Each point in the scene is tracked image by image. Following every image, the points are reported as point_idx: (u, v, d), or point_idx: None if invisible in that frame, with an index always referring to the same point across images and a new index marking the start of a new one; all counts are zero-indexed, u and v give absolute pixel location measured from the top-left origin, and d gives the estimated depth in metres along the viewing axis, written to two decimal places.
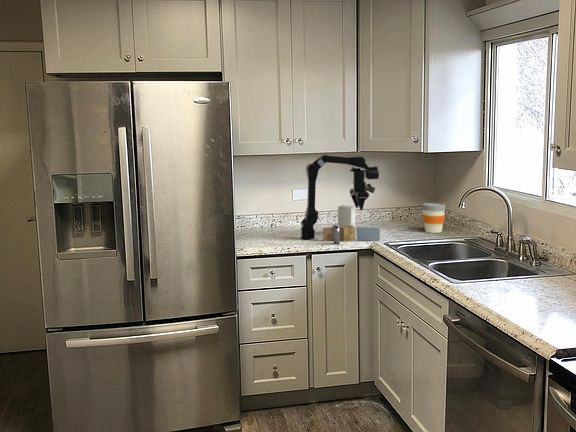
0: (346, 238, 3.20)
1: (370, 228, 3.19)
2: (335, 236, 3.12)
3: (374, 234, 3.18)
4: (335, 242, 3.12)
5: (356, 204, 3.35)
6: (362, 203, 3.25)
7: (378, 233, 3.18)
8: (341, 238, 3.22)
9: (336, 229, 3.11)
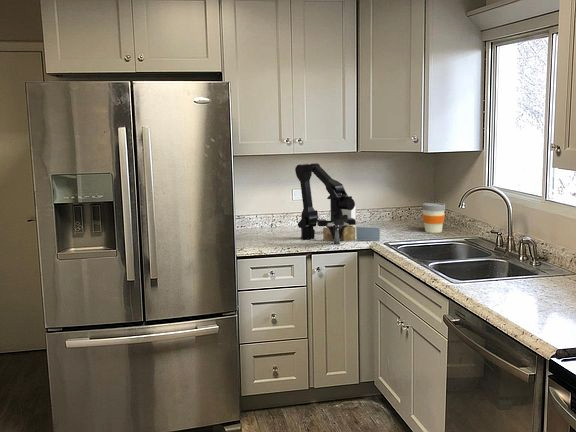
0: (346, 238, 3.20)
1: (370, 228, 3.19)
2: (335, 236, 3.12)
3: (374, 234, 3.18)
4: (335, 242, 3.12)
5: None
6: (331, 232, 3.12)
7: (378, 233, 3.18)
8: (341, 238, 3.22)
9: (336, 229, 3.11)
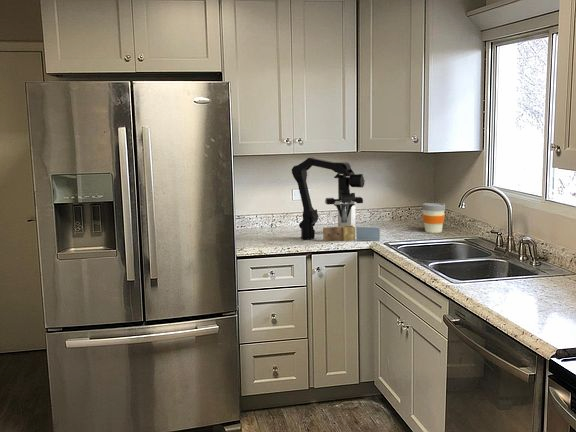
0: (346, 238, 3.20)
1: (370, 228, 3.19)
2: (343, 215, 3.17)
3: (374, 234, 3.18)
4: (343, 220, 3.17)
5: None
6: (338, 210, 3.17)
7: (378, 233, 3.18)
8: (341, 238, 3.22)
9: (344, 207, 3.16)
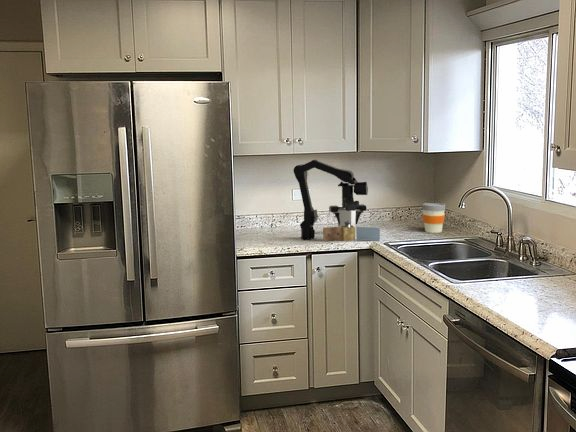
0: (346, 238, 3.20)
1: (370, 228, 3.19)
2: None
3: (374, 234, 3.18)
4: None
5: (355, 220, 3.23)
6: (337, 218, 3.21)
7: (378, 233, 3.18)
8: (341, 238, 3.22)
9: (347, 225, 3.21)
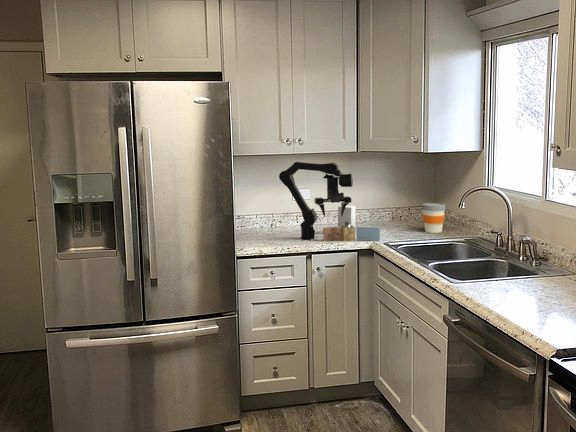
0: (346, 238, 3.20)
1: (370, 228, 3.19)
2: None
3: (374, 234, 3.18)
4: None
5: (341, 212, 3.26)
6: (322, 210, 3.23)
7: (378, 233, 3.18)
8: (341, 238, 3.22)
9: (347, 225, 3.21)
